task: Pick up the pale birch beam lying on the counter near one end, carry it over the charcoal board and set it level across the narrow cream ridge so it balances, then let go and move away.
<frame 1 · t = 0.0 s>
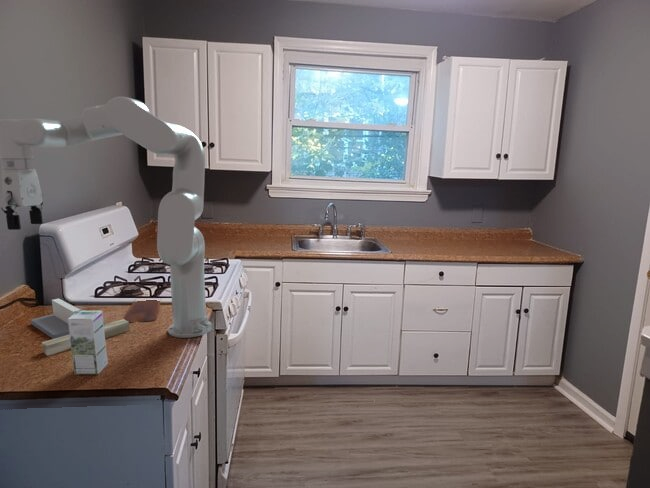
hand: (26, 226, 126), 31 cm above the countertop, tool pointing down, fingers open, 9 cm apart
birch beam: (89, 342, 124), on the countertop
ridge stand: (69, 325, 135), on the countertop
wooden tablet: (145, 310, 151), on the countertop
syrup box: (91, 370, 108), on the countertop
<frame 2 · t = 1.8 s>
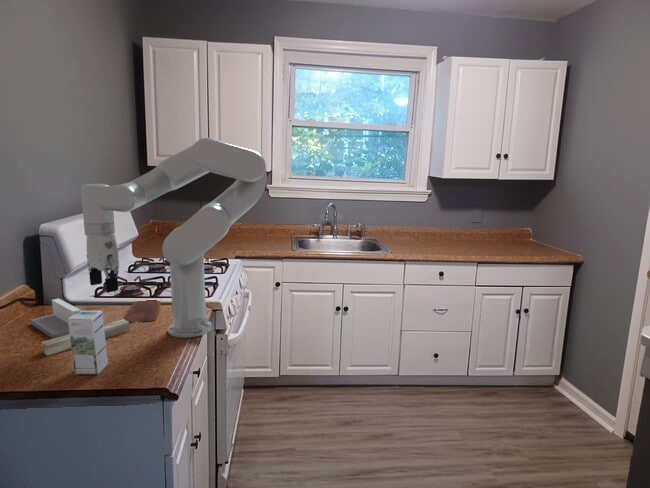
hand: (104, 287, 126), 14 cm above the countertop, tool pointing down, fingers open, 9 cm apart
nothing on the countertop moved.
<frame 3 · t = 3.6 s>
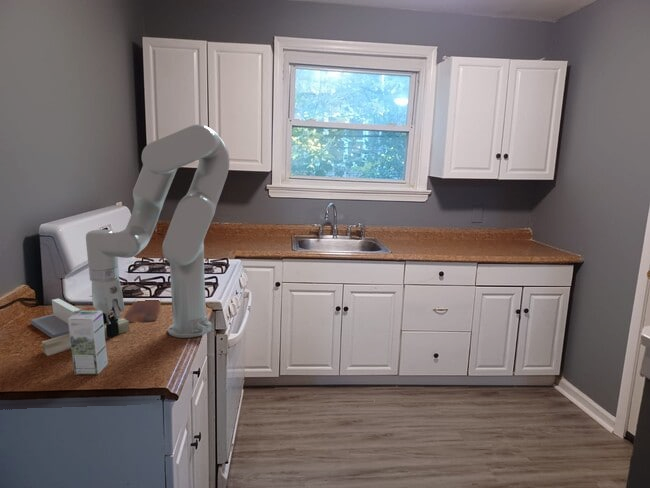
hand: (109, 333, 129), 0 cm above the countertop, tool pointing down, fingers closed on birch beam, 3 cm apart
birch beam: (88, 341, 124), on the countertop, touching gripper
everything else where it was.
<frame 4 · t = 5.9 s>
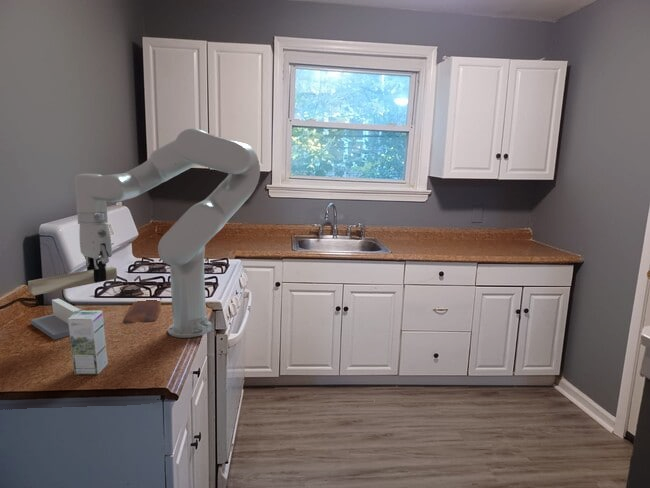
hand: (97, 279, 129), 16 cm above the countertop, tool pointing down, fingers closed on birch beam, 3 cm apart
birch beam: (75, 285, 124), point 15 cm above the countertop, touching gripper
everything else where it was.
when the fingers open (8 cm above the countertop, at t = 8.2 s): birch beam stays where it is, resting on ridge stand.
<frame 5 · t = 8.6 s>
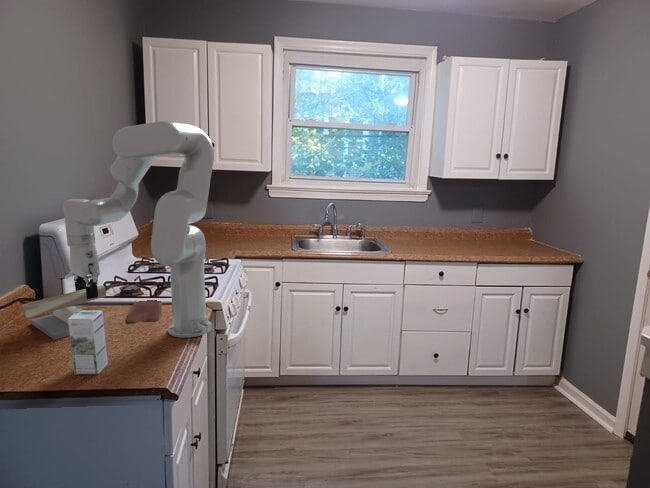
hand: (86, 295, 138), 8 cm above the countertop, tool pointing down, fingers open, 7 cm apart
birch beam: (67, 305, 134), point 7 cm above the countertop, touching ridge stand
everything else where it was.
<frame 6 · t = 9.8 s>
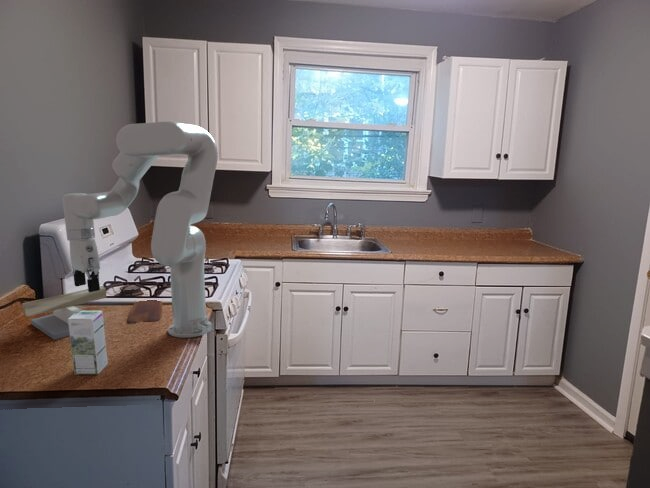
hand: (87, 288, 137), 11 cm above the countertop, tool pointing down, fingers open, 9 cm apart
nothing on the countertop moved.
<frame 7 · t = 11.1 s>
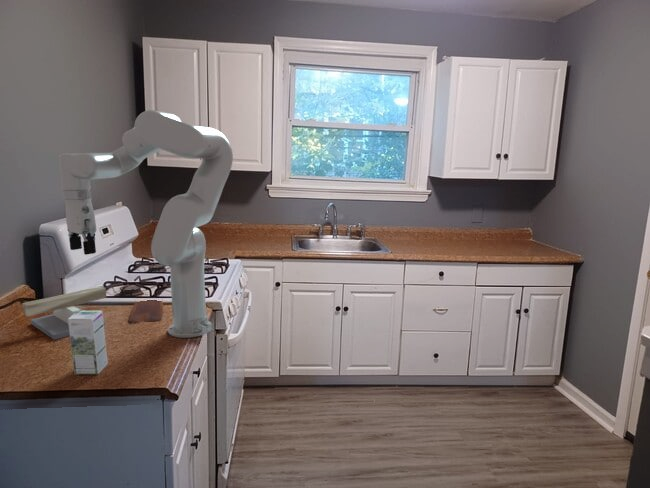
hand: (83, 251, 135), 22 cm above the countertop, tool pointing down, fingers open, 9 cm apart
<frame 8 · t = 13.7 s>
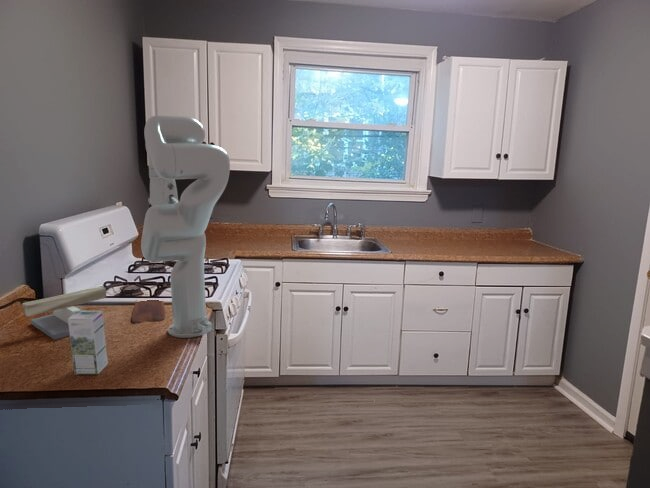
hand: (164, 225, 148), 28 cm above the countertop, tool pointing down, fingers open, 9 cm apart
at the end: birch beam 0.1 cm off-centre on the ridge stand, point 6.5 cm above the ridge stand's base; birch beam tilted 0°; the gripper is holding nothing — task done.
